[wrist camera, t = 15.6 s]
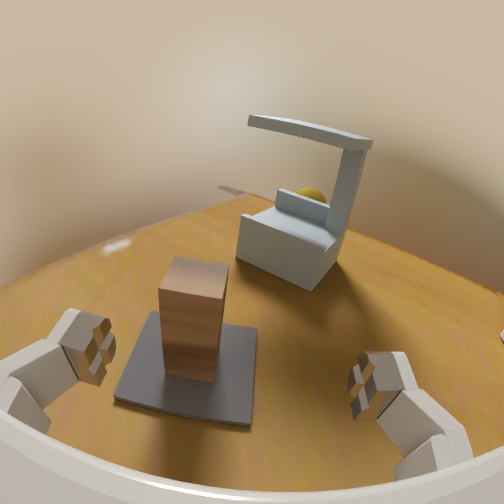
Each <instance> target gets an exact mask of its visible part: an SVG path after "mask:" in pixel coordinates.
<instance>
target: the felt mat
mask: <svg viewBox="0 0 504 504" xmlns="http://www.w3.org/2000/svg"><path fill="white" fill-rule="evenodd" d="M256 332H257V329H256V328H249V327H242V326H235V325H229V324H222V331H221V339H220V348H219V354H218V359H217V365H216V371H215V376H214V382H213V383H208V382H203V381H197V380H192V379H186V378H181V377H176V376H172V375H167V374H165V369H164V360H163V350H162V338H161V326H160V312H156V311H151V313H150V315H149V317H148V319H147V321H146V323H145V325H144V327H143V330H142V332H141V334H140V336H139V338H138V340H137V343H136V345H135V347H134V349H133V351H132V354H131V356H130V358H129V360H128V363H127V365H126V367H125V369H124V372H123V374H122V376H121V379H120V381H119V383H118V386H117V388H116V391H115V393H114V395H113V396H114V398H115V399H117V400H120V401H123V402H127V403H130V404H134V405H137V406H141V407H145V408H149V409H153V410H157V411H161V412H165V413H170V414H174V415H179V416H184V417H189V418H194V419H200V420H206V421H212V422H218V423H225V424H233V425H241V426H250V425H251V418H252V402H253V385H254V368H255V350H256Z"/></svg>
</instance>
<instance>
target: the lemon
mask: <svg viewBox="0 0 504 504" xmlns="http://www.w3.org/2000/svg"><path fill="white" fill-rule="evenodd" d="M296 194H299V195H302V196H305V197H308V198H310V199H313V200H316V201H319V202H322V203H325V204H326V200H325V197H324V196H323V194H321V192H319V191H318V190H316V189H314V188H303V189H301V190H299V191H298V192H296Z"/></svg>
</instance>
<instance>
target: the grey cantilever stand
mask: <svg viewBox="0 0 504 504" xmlns="http://www.w3.org/2000/svg"><path fill="white" fill-rule="evenodd" d="M248 126H252V127H257V128H262V129H267V130H272V131H277V132H281V133H285V134H290V135H294V136H298V137H302V138H306V139H310V140H314V141H318V142H322V143H326V144H329V145H333V146H336V147H340V148H343V149H344V150H343V154H342V159H341V163H340V167H339V172H338V176H337V180H336V185H335V188H334V192H333V196H332V200H331V204H330V205H327V204H325V203H322V202H319V201H316V200H313V199H310V198H308V197H305V196H302V195H299V194H296V193H293V192H290V191H287V190H284V189H280V190H278V191H277V196H276V202H275V206H274V207H272V208H270V209H267V210H265V211H263V212H261V213H258V214H256V215H254V216H250V215H247V214H243V215H241V222H240V229H239V236H238V243H237V250H236V257H237V258H239V259H241V260H243V261H245V262H248V263H250V264H252V265H254V266H256V267H258V268H260V269H263V270H265V271H267V272H269V273H271V274H273V275H276V276H278V277H280V278H282V279H284V280H286V281H288V282H291V283H293V284H295V285H297V286H299V287H301V288H304V289H306V290H308V291H310V292H311V291H312V290H313V289H314V288H315V286H316V285H317V284H318V283H319V282H320V280H321V279H322V278H323V277H324V276H325V274H326V273H327V272H328V271H329V269H330V268H331V267H332V266H333V265H334V263H335V262H336V261H337V258H338V255H339V252H340V248H341V245H342V242H343V239H344V235H345V232H346V229H347V225H348V222H349V218H350V215H351V211H352V208H353V205H354V201H355V197H356V194H357V190H358V186H359V182H360V178H361V175H362V171H363V167H364V162H365V158H366V154H367V150H368V149H371V146H372V142H373V140H372V139H368V138H365V137H362V136H358V135H354V134H351V133H348V132H344V131H340V130H336V129H332V128H328V127H325V126H320V125H316V124H311V123H307V122H303V121H298V120H293V119H287V118H278V117H268V116H258V115H249V120H248Z"/></svg>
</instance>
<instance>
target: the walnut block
mask: <svg viewBox="0 0 504 504" xmlns="http://www.w3.org/2000/svg"><path fill="white" fill-rule="evenodd" d="M228 273H229V265H228V264H222V263H215V262H209V261H203V260H196V259H190V258H184V257H178V256H175V257H174V259H173V261H172V263H171V265H170V267H169V269H168V271H167V272H166V274H165V276H164V278H163V280H162V282H161V284H160V286H159V288H158V293H159V311H160V326H161V338H162V350H163V360H164V369H165V374H167V375H172V376H176V377H181V378H186V379H192V380H197V381H203V382H208V383H213V382H214V376H215V371H216V365H217V359H218V354H219V348H220V339H221V331H222V322H223V313H224V305H225V297H226V289H227V281H228Z"/></svg>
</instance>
